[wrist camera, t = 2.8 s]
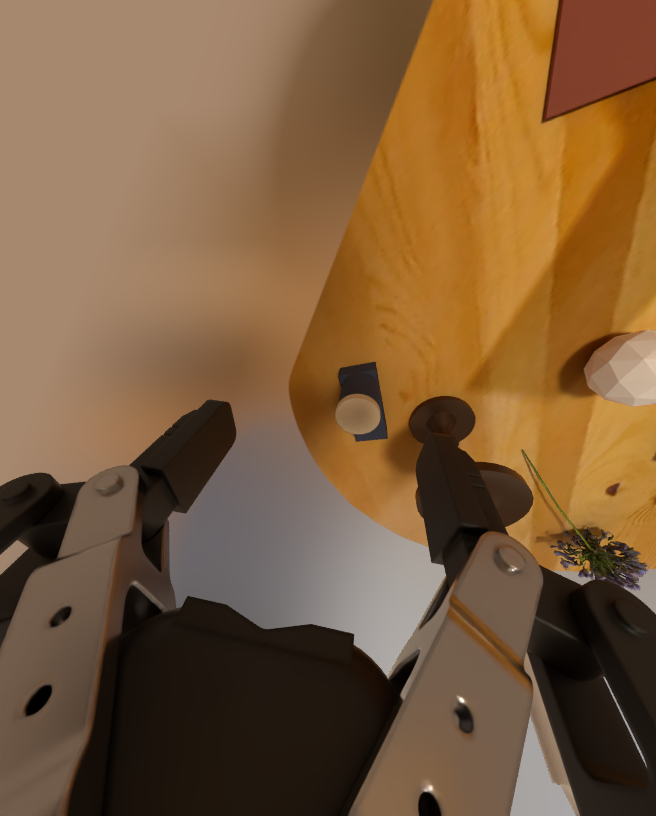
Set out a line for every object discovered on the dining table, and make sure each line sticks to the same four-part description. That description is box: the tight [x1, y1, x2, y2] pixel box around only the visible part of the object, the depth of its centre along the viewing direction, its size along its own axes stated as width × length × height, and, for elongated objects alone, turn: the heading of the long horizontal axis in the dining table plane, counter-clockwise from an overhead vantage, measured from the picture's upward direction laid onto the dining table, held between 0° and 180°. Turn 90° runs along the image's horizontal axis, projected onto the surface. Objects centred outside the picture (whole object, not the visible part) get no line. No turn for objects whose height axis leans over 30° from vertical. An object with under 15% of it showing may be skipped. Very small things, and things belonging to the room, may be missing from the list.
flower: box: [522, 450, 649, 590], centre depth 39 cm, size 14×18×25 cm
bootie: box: [335, 362, 388, 441], centre depth 33 cm, size 12×5×9 cm, turn 15°
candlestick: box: [410, 396, 580, 816], centre depth 23 cm, size 11×11×35 cm
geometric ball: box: [584, 330, 656, 407], centre depth 25 cm, size 8×8×8 cm
